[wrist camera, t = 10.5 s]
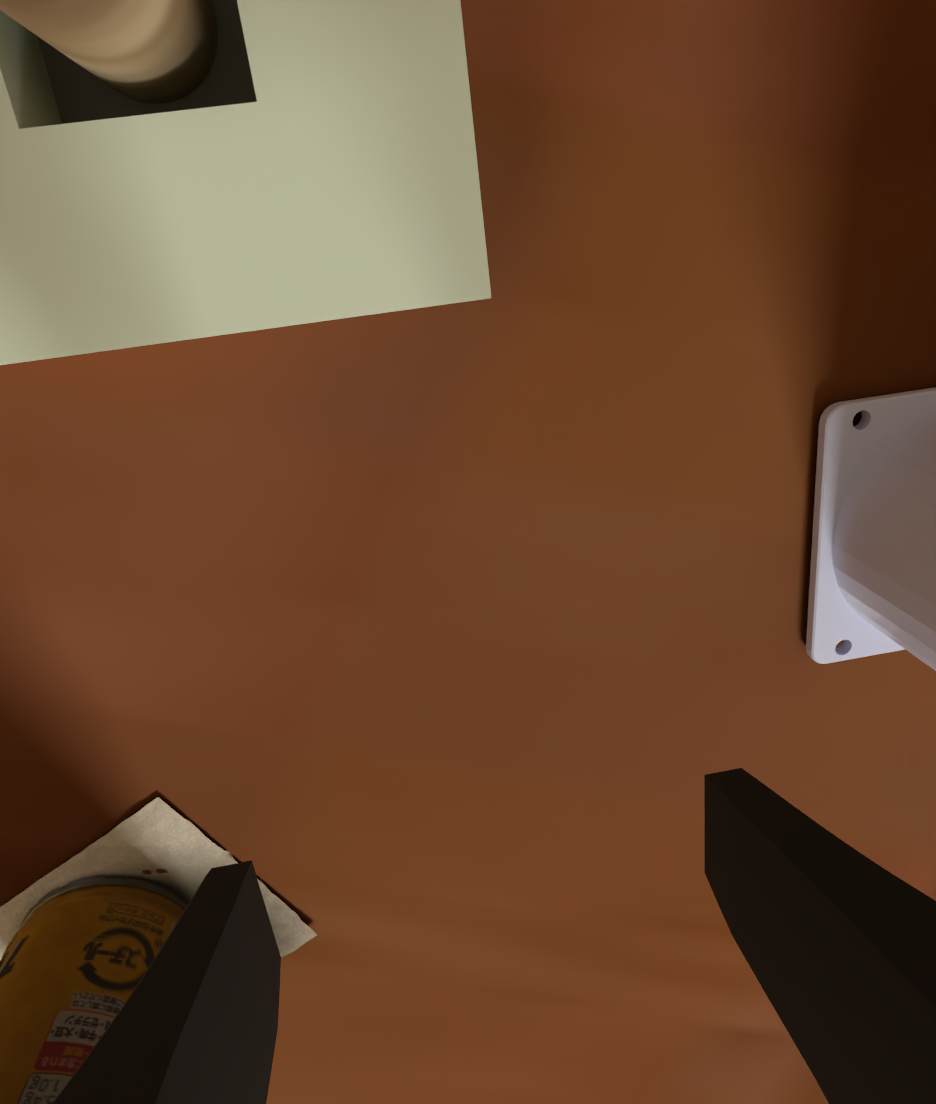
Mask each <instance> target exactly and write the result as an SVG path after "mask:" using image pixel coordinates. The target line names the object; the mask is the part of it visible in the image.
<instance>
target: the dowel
mask: <svg viewBox="0 0 936 1104" xmlns="http://www.w3.org/2000/svg"><path fill="white" fill-rule="evenodd" d="M0 10H1V11H2V12H4V13H5V14H6V15H8V16H9V17H11V18H12V19H14V20H15V21H17V22H18V23H19V24H21V25H22V26H24V27H25V28H27V29H28V30H29V31H31V32H32V33H34V34H35V35H37V36H38V37H40V38H41V39H42V40H44V41H45V42H47V43H48V44H50V45H51V46H53V47H54V48H55V49H57V50H58V51H60V52H61V53H63V54H64V55H65V56H67V57H68V58H70V59H71V60H73V61H74V62H76V63H77V64H78V65H80V66H81V67H83V68H84V69H86V70H87V71H89V72H90V73H91V74H93V75H94V76H96V77H97V78H99V79H100V80H102V81H103V82H104V83H106V84H107V85H109V86H110V87H112V88H113V89H115V90H116V91H118V92H119V93H121V94H123V95H125V96H127V97H129V98H132V99H134V100H137V101H141V102H146V103H156V104H158V103H168V102H172V101H176V100H178V99H181V98H183V97H185V96H187V95H188V94H190V93H191V92H192V91H194V90H195V89H196V88H197V87H198V86H199V85H200V84H201V83H202V82H203V80H204V79H205V77H206V76H207V74H208V73H209V71H210V68H211V66H212V64H213V61H214V58H215V54H216V48H217V38H218V31H217V21H216V15H215V11H214V7H213V4H212V1H211V0H0Z"/></svg>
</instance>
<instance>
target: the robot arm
mask: <svg viewBox="0 0 936 1104" xmlns="http://www.w3.org/2000/svg"><path fill="white" fill-rule="evenodd" d="M860 411H861V413H862V418H861V421H860V422H859V423H858V424H857V425H856V426H853V423H852V421H853V418H854V416H855V415H856V414H857V413H858V412H860ZM842 640H844V641H843V644H842V645H841V646H840V647H838V648H836V645H837V644H838V643H839V642H840V641H842ZM835 648H836V649H835ZM904 649H906V650H907V651H909V652H910V653H911V654H913V655H914V656H916V657H917V658H918V659H920V660H921V661H923V662H924V663H925V664H927V665H928V666H930V667H931V668H932V669H934V670H935V671H936V387H934V388H927V389H921V390H914V391H908V392H901V393H895V394H888V395H881V396H875V397H868V398H862V399H855V400H849V401H842V402H837V403H834V404H831V405H830V406H829V407H827V408H826V409H825V410H824V412H823V413H822V415H821V417H820V421H819V432H818V449H817V466H816V483H815V500H814V517H813V534H812V552H811V569H810V586H809V603H808V620H807V637H806V651H807V654H808V655H809V656H810V657H811V658H812V659H813V660H814V661H815V662H818V663H820V664H826V663H832V662H838V661H843V660H849V659H854V658H860V657H865V656H871V655H877V654H882V653H888V652H893V651H899V650H904ZM705 874H706V876H707V879H708V881H709V883H710V886H711V888H712V890H713V893H714V895H715V897H716V900H717V902H718V904H719V907H720V909H721V911H722V913H723V916H724V918H725V920H726V922H727V924H728V927H729V929H730V931H731V933H732V935H733V937H734V939H735V941H736V943H737V944H738V946H739V948H740V950H741V951H742V953H743V955H744V957H745V958H746V960H747V962H748V964H749V965H750V967H751V969H752V971H753V972H754V974H755V976H756V977H757V979H758V981H759V983H760V984H761V986H762V988H763V990H764V991H765V993H766V995H767V996H768V998H769V1000H770V1002H771V1003H772V1005H773V1007H774V1008H775V1010H776V1012H777V1014H778V1015H779V1017H780V1019H781V1020H782V1022H783V1024H784V1026H785V1027H786V1029H787V1031H788V1032H789V1034H790V1036H791V1037H792V1039H793V1041H794V1043H795V1044H796V1046H797V1048H798V1049H799V1051H800V1053H801V1055H802V1056H803V1058H804V1060H805V1061H806V1063H807V1065H808V1067H809V1068H810V1070H811V1072H812V1073H813V1075H814V1077H815V1079H816V1080H817V1082H818V1084H819V1086H820V1088H821V1090H822V1091H823V1093H824V1095H825V1097H826V1099H827V1101H828V1103H829V1104H936V901H935V900H933V899H932V898H930V897H928V896H927V895H925V894H924V893H922V892H920V891H919V890H917V889H915V888H914V887H912V886H911V885H909V884H907V883H906V882H904V881H903V880H901V879H899V878H898V877H896V876H894V875H893V874H891V873H890V872H888V871H887V870H885V869H884V868H882V867H881V866H879V865H877V864H876V863H874V862H873V861H871V860H870V859H868V858H867V857H865V856H864V855H862V854H861V853H859V852H858V851H856V850H855V849H854V848H852V847H851V846H849V845H848V844H846V843H845V842H843V841H842V840H840V839H839V838H837V837H836V836H835V835H833V834H832V833H830V832H829V831H827V830H826V829H825V828H823V827H822V826H820V825H819V824H818V823H816V822H815V821H813V820H812V819H811V818H809V817H808V816H806V815H805V814H804V813H802V812H801V811H800V810H798V809H797V808H795V807H794V806H793V805H791V804H790V803H789V802H787V801H786V800H784V799H783V798H782V797H780V796H779V795H778V794H776V793H775V792H774V791H772V790H771V789H769V788H768V787H767V786H765V785H764V784H763V783H761V782H760V781H759V780H757V779H756V778H754V777H753V776H752V775H750V774H749V773H747V772H746V771H745V770H743V769H742V768H739V769H734V770H729V771H723V772H718V773H713V774H707V775H705ZM280 964H281V956H280V952H279V949H278V946H277V942H276V939H275V936H274V933H273V929H272V926H271V923H270V919H269V916H268V913H267V910H266V906H265V903H264V900H263V896H262V893H261V890H260V886H259V883H258V880H257V877H256V873H255V870H254V867H253V863H252V861H247V862H241V863H236V864H231V865H225V866H220V867H215V868H211V870H210V871H209V872H208V873H207V875H206V876H205V878H204V879H203V881H202V883H201V884H200V886H199V887H198V889H197V891H196V892H195V894H194V896H193V897H192V899H191V901H190V902H189V904H188V905H187V907H186V909H185V910H184V912H183V914H182V915H181V917H180V919H179V920H178V922H177V923H176V925H175V927H174V928H173V930H172V931H171V933H170V935H169V936H168V938H167V939H166V941H165V943H164V944H163V946H162V947H161V949H160V951H159V952H158V954H157V955H156V957H155V958H154V960H153V961H152V963H151V964H150V966H149V967H148V969H147V970H146V972H145V974H144V975H143V977H142V978H141V980H140V981H139V983H138V984H137V986H136V987H135V989H134V990H133V992H132V993H131V995H130V996H129V998H128V999H127V1001H126V1002H125V1004H124V1005H123V1007H122V1008H121V1010H120V1011H119V1013H118V1014H117V1015H116V1017H115V1018H114V1020H113V1021H112V1022H111V1024H110V1025H109V1027H108V1028H107V1029H106V1031H105V1032H104V1034H103V1035H102V1036H101V1038H100V1039H99V1041H98V1042H97V1043H96V1045H95V1046H94V1048H93V1049H92V1050H91V1052H90V1053H89V1055H88V1056H87V1057H86V1059H85V1060H84V1062H83V1063H82V1064H81V1066H80V1067H79V1068H78V1070H77V1071H76V1072H75V1074H74V1075H73V1076H72V1078H71V1079H70V1080H69V1082H68V1083H67V1084H66V1086H65V1087H64V1088H63V1090H62V1091H61V1092H60V1094H59V1095H58V1096H57V1097H56V1099H55V1100H54V1101H53V1103H52V1104H266V1100H267V1094H268V1088H269V1081H270V1075H271V1068H272V1062H273V1055H274V1049H275V1042H276V1035H277V1027H278V1009H279V990H280Z"/></svg>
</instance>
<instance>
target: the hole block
mask: <svg viewBox="0 0 936 1104" xmlns="http://www.w3.org/2000/svg"><path fill="white" fill-rule="evenodd" d="M211 1H212V4H213V7H214V11H215V15H216V21H217V31H218V38H217V48H216V54H215V58H214V61H213V64H212V66H211V68H210V71H209V73H208V74H207V76H206V77H205V79H204V80H203V82H202V83H201V84H200V85H199V86H198V87H197V88H196V89H195V90H194V91H192V92H191V93H190V94H188V95H187V96H185V97H183V98H181V99H178V100H176V101H172V102H168V103H158V104H156V103H146V102H141V101H137V100H134V99H132V98H129V97H127V96H125V95H123V94H121V93H119V92H118V91H116V90H115V89H113V88H112V87H110V86H109V85H107V84H106V83H104V82H103V81H102V80H100V79H99V78H97V77H96V76H94V75H93V74H91V73H90V72H89V71H87V70H86V69H84V68H83V67H81V66H80V65H78V64H77V63H76V62H74V61H73V60H71V59H70V58H68V57H67V56H65V55H64V54H63V53H61V52H60V51H58V50H57V49H55V48H54V47H53V46H51V45H50V44H48V43H47V42H45V41H44V40H42V39H41V38H40V37H38V36H37V35H35V34H34V33H32V32H31V31H29V30H28V29H27V28H25V27H24V26H22V25H21V24H19V23H18V22H17V21H15V20H14V19H12V18H11V17H9V16H8V15H6V14H5V13H4V12H2V11H1V10H0V365H5V364H13V363H20V362H27V361H35V360H42V359H49V358H56V357H64V356H71V355H78V354H86V353H93V352H100V351H108V350H115V349H122V348H130V347H137V346H144V345H152V344H159V343H166V342H174V341H181V340H188V339H195V338H203V337H210V336H217V335H225V334H232V333H239V332H247V331H254V330H261V329H269V328H276V327H283V326H291V325H298V324H305V323H313V322H320V321H327V320H334V319H342V318H349V317H356V316H364V315H371V314H378V313H386V312H393V311H400V310H408V309H415V308H422V307H430V306H437V305H444V304H452V303H459V302H466V301H473V300H481V299H488V298H491V290H490V280H489V271H488V261H487V251H486V242H485V232H484V223H483V213H482V203H481V194H480V184H479V175H478V165H477V155H476V146H475V136H474V127H473V117H472V107H471V98H470V88H469V79H468V69H467V60H466V50H465V40H464V31H463V21H462V12H461V2H460V0H211Z"/></svg>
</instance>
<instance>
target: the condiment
mask: <svg viewBox="0 0 936 1104" xmlns="http://www.w3.org/2000/svg"><path fill="white" fill-rule="evenodd" d="M236 863H238V862H237V861H235V860H234V858H233V857H232V855H231V854H230V853H229V852H228V851H224V850H223V849H221V848H220V847H218V846H217V845H216V844H215V843H213V842H212V841H211V840H210V839H208V838H207V837H206V836H205V835H204V834H203V833H202V832H201V831H200V830H199V829H198V828H197V827H195V826H194V825H193V824H192V823H191V822H190V821H188V820H186V819H184V818H183V817H182V816H180V815H179V814H178V813H177V812H176V811H174V810H173V809H172V808H171V807H170V806H168V805H167V804H166V803H165V802H164V801H163V800H161V799H160V798H159V797H157V798H156V799H154V800H153V801H151V802H150V803H149V804H147V805H146V806H144V807H143V808H142V809H141V810H140V811H138V812H137V813H135V814H134V815H132V816H131V817H129V818H128V819H126V820H124V821H123V822H121V823H120V824H119V825H117V826H116V827H115V828H114V829H113V830H111V831H110V832H109V833H107V834H106V835H105V836H103V837H101V838H100V839H98V840H97V841H96V842H94V843H92V844H91V845H89V846H88V847H87V848H86V849H84V850H83V851H82V852H80V853H79V854H77V855H75V856H74V857H72V858H71V859H69V860H68V861H67V862H65V863H64V864H62V865H61V866H59V867H58V868H56V869H54V870H53V871H51V872H50V873H48V874H47V875H45V876H44V877H42V878H41V879H39V880H38V881H36V882H35V883H34V884H33V885H31V886H30V887H28V888H27V889H26V890H24V891H23V892H22V893H20V894H19V895H17V896H15V897H14V898H13V899H11V900H10V901H9V902H7V903H6V904H4V905H3V906H1V907H0V1104H52V1103H53V1101H54V1100H55V1099H56V1097H57V1096H58V1095H59V1094H60V1092H61V1091H62V1090H63V1088H64V1087H65V1086H66V1084H67V1083H68V1082H69V1080H70V1079H71V1078H72V1076H73V1075H74V1074H75V1072H76V1071H77V1070H78V1068H79V1067H80V1066H81V1064H82V1063H83V1062H84V1060H85V1059H86V1057H87V1056H88V1055H89V1053H90V1052H91V1050H92V1049H93V1048H94V1046H95V1045H96V1043H97V1042H98V1041H99V1039H100V1038H101V1036H102V1035H103V1034H104V1032H105V1031H106V1029H107V1028H108V1027H109V1025H110V1024H111V1022H112V1021H113V1020H114V1018H115V1017H116V1015H117V1014H118V1013H119V1011H120V1010H121V1008H122V1007H123V1005H124V1004H125V1002H126V1001H127V999H128V998H129V996H130V995H131V993H132V992H133V990H134V989H135V987H136V986H137V984H138V983H139V981H140V980H141V978H142V977H143V975H144V974H145V972H146V970H147V969H148V967H149V966H150V964H151V963H152V961H153V960H154V958H155V957H156V955H157V954H158V952H159V951H160V949H161V947H162V946H163V944H164V943H165V941H166V939H167V938H168V936H169V935H170V933H171V931H172V930H173V928H174V927H175V925H176V923H177V922H178V920H179V919H180V917H181V915H182V914H183V912H184V910H185V909H186V907H187V905H188V904H189V902H190V901H191V899H192V897H193V896H194V894H195V892H196V891H197V889H198V887H199V886H200V884H201V883H202V881H203V879H204V878H205V876H206V875H207V873H208V872H209V871H210V870H211V868H215V867H220V866H225V865H231V864H236ZM157 869H165V870H167V872H166V873H157V872H156V870H157ZM144 870H150V871H151V872H152V873H151V874H144V873H143V872H142V871H144ZM257 880H258V879H257ZM258 883H259V886H260V890H261V893H262V896H263V900H264V903H265V906H266V910H267V913H268V916H269V919H270V923H271V926H272V929H273V933H274V936H275V939H276V942H277V946H278V949H279V952H280V956H281V957H283V956H285V955H287V954H289V953H291V952H293V951H295V950H296V949H298V948H299V947H300V946H301V945H303V944H304V943H306V942H307V941H309V940H311V939H312V938H314V937H315V936H317V934H316V933H315V932H314V931H313V930H312V929H311V928H310V927H309V926H307V925H306V924H305V923H304V922H303V921H301V919H300V917H299V916H298V915H297V914H296V913H295V912H294V911H292V910H291V909H290V908H289V907H288V906H287V905H286V904H285V903H284V902H282V901H281V900H280V899H279V898H278V897H277V896H275V895H274V894H273V893H271V892H270V890H269V889H268V888H267V887H266V886H265V885H264V884H263V883H262V882H261V881H259V880H258Z"/></svg>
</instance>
